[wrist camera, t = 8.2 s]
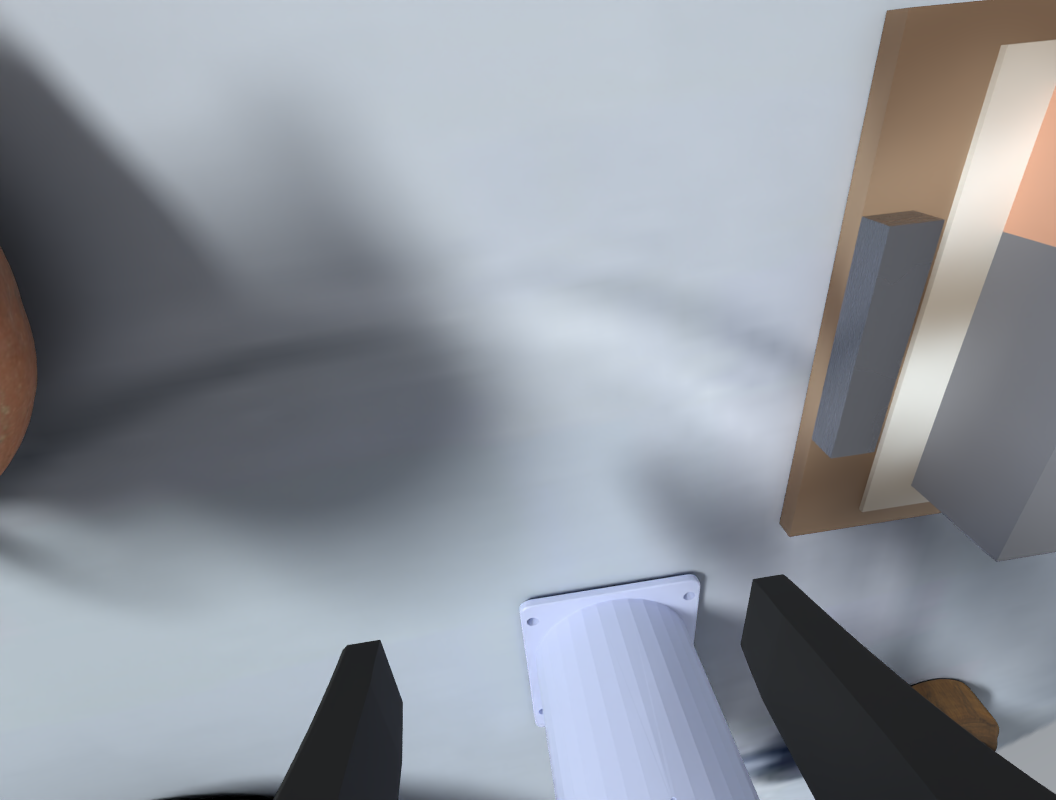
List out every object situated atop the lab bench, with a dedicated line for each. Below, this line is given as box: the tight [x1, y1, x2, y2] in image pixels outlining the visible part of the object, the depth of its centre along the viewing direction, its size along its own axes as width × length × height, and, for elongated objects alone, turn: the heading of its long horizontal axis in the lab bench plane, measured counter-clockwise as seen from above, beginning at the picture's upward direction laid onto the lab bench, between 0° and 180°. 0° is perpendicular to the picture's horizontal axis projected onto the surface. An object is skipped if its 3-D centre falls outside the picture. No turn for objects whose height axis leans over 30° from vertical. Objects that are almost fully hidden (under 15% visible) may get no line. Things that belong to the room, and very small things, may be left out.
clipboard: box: [780, 0, 1056, 537], centre depth 18 cm, size 18×13×2 cm
